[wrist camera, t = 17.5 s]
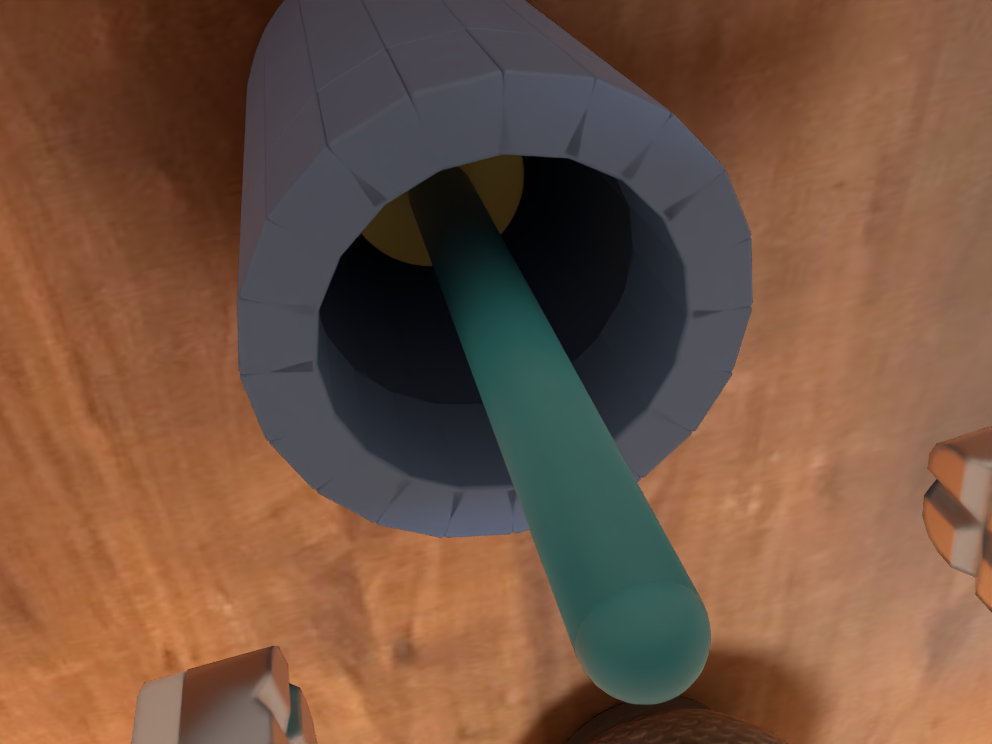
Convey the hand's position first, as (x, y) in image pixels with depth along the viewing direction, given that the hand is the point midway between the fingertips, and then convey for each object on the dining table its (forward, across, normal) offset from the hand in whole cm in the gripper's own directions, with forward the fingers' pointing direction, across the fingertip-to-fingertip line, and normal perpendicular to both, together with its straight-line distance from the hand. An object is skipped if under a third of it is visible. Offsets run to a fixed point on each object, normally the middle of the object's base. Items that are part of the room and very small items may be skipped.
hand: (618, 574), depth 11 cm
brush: (+19, 0, 0) cm, 19 cm away
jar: (+20, 0, 0) cm, 20 cm away
